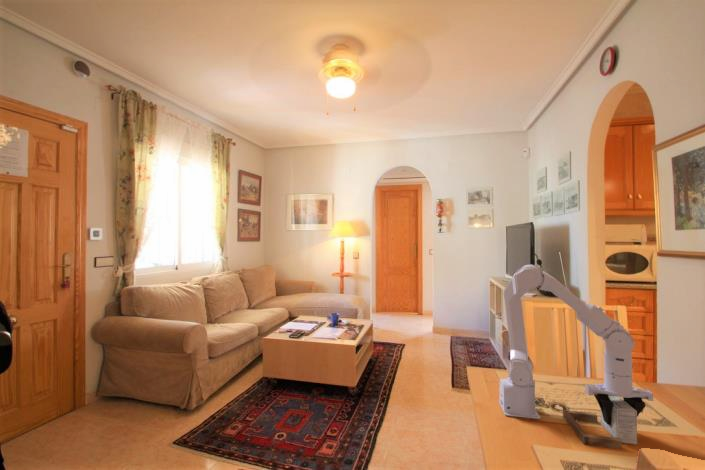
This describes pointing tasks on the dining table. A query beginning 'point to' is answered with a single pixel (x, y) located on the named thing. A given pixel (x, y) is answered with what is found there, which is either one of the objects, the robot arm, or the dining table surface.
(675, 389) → the dining table surface
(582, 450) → the dining table surface
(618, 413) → the medicine box
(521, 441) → the dining table surface
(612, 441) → the walnut u-shaped bracket
